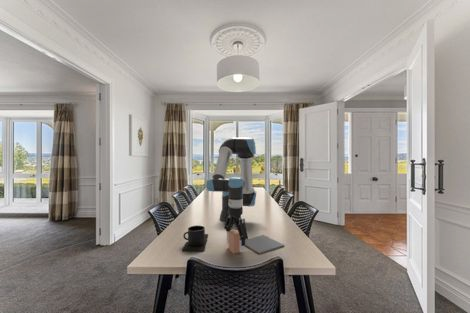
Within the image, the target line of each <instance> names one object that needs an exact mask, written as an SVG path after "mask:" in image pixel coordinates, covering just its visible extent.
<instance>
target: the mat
mask: <svg viewBox="0 0 470 313" xmlns="http://www.w3.org/2000/svg"><path fill="white" fill-rule="evenodd" d="M284 247H285V244H283V243H281V242H279V241H277V240H276V239H274V238H270V237H268V236H266V235H264V234H261V235H258V236H253V237H250V238H249V237H248V239H245V248H247V249H250V250H251V251H252V252H255V254H258V255H261V254H264V253H265V254H266V253H267V252H271V251H274V250H277V249H282V248H284Z"/></svg>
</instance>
